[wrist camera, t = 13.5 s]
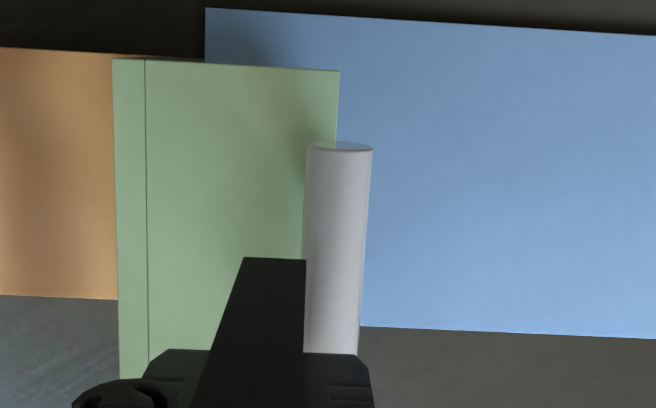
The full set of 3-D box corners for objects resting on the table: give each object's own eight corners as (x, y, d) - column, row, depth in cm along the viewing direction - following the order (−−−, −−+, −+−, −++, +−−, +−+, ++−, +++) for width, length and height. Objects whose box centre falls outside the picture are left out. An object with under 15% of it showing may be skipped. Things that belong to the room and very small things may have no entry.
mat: (203, 316, 32) (201, 319, 32) (206, 8, 29) (204, 7, 28) (687, 337, 33) (691, 340, 33) (751, 42, 30) (757, 42, 29)
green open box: (157, 56, 26) (302, 64, 27) (159, 302, 28) (291, 301, 29) (86, 58, 12) (387, 75, 13) (103, 532, 15) (352, 512, 16)
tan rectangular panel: (176, 57, 29) (158, 56, 26) (177, 276, 32) (160, 302, 28) (-62, 42, 29) (-112, 40, 25) (-41, 266, 31) (-84, 291, 28)
